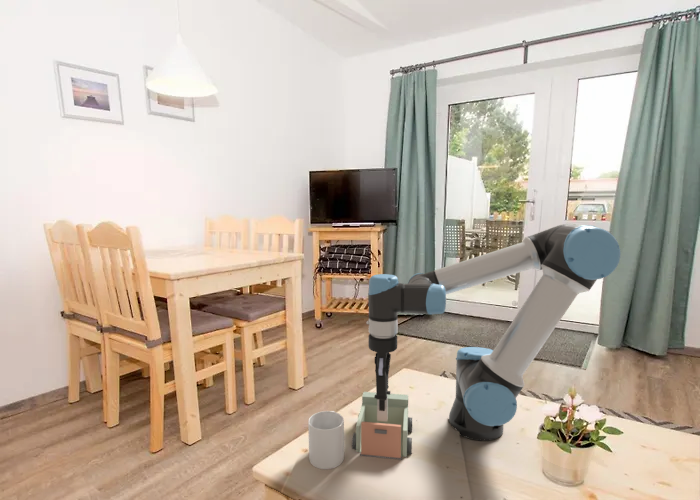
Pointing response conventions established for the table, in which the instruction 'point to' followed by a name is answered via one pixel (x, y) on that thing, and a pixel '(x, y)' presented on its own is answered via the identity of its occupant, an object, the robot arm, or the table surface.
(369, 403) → the truck bed
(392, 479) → the table surface
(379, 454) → the panel
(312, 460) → the mug
